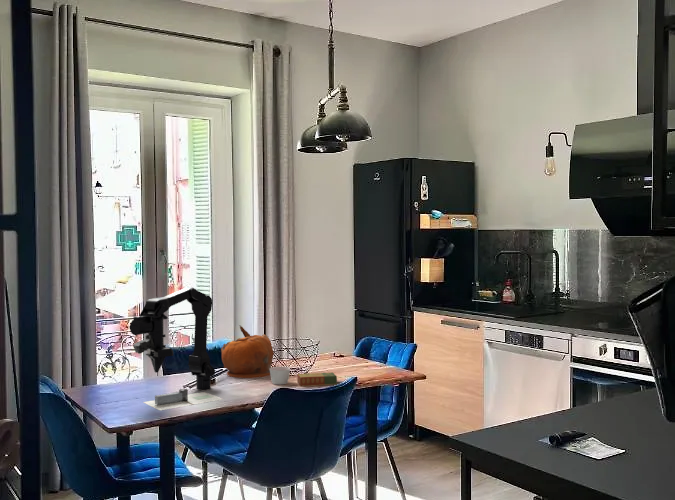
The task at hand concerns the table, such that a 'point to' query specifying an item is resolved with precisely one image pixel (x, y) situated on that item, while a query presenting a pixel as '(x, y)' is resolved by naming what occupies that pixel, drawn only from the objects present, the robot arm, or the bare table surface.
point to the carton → (316, 379)
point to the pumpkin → (248, 356)
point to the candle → (279, 375)
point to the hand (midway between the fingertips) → (156, 372)
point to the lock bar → (172, 397)
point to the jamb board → (192, 400)
